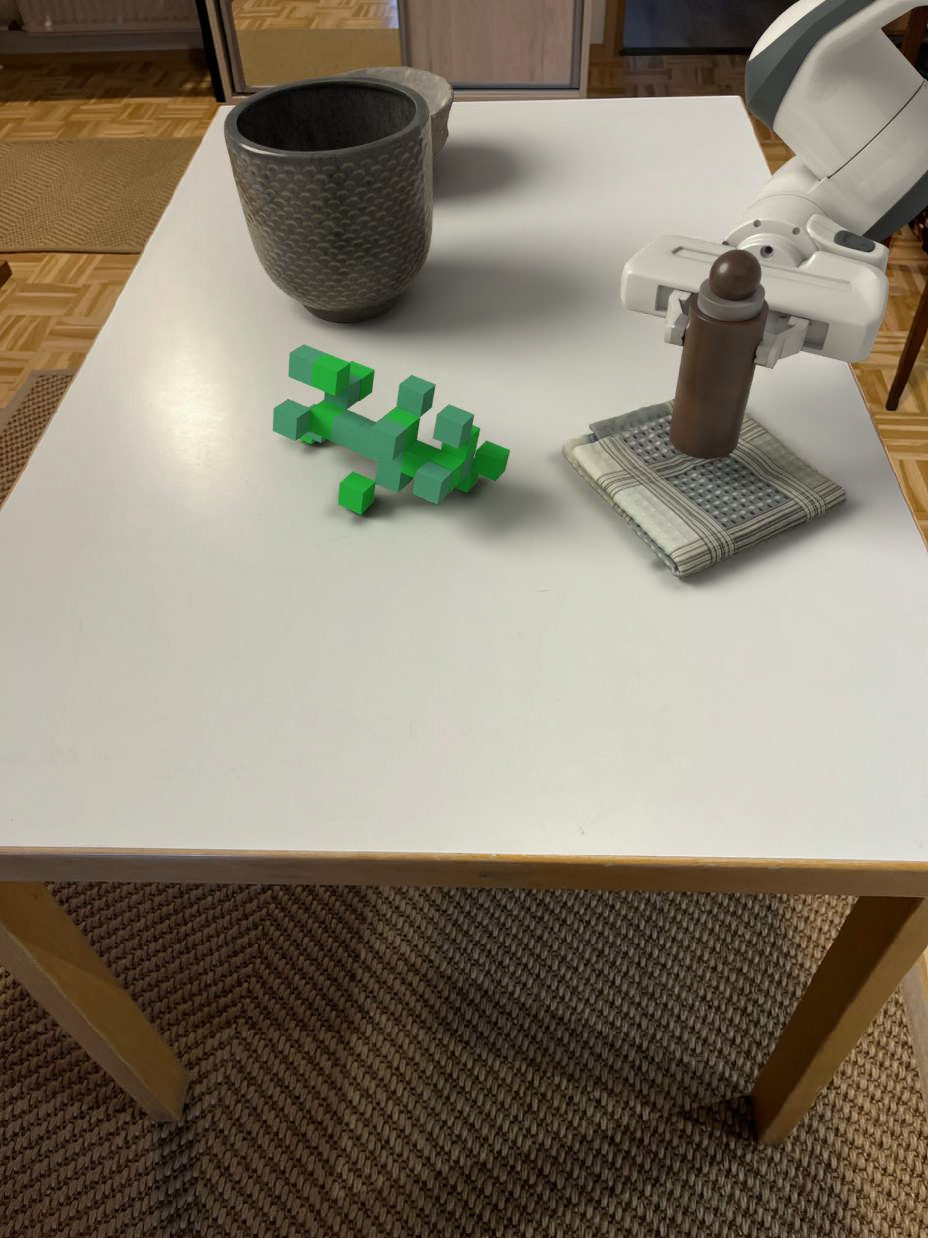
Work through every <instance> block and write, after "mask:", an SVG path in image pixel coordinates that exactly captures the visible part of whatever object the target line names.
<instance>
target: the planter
mask: <svg viewBox="0 0 928 1238" xmlns="http://www.w3.org/2000/svg"><path fill="white" fill-rule="evenodd" d="M331 76H332V75H331ZM223 136H224V142H225V146H226V150H227V154H228V158H229V161H230V162H229V163H230V166H231V167H230V168H231V171H232V176H233V180H234V183H235V187H236V190H237V194H238V199H239V202H240V205H241V208H242V209H241V210H242V213H243V217H244V220H245V223H246V227H247V230H248V234H249V237H250V239H251V240H250V241H251V242H252V243H251V244H252V246H253V248H254V249H253V250H254V251H255V254H256V256H257V259H258V261H259V263H260V265H261V267H262V268H263V270H264V271H265V274H266V275H267V276H268V278H269V279H270V280H271V282H272V283H273V284H274V285H275V286H276V287H277V288H278V289H279V290H280V291H282V293H284V294H285V295H286V296H288V297H289V298H291V299H292V300H294V301H296V302H298V303H300V304H302V306H303V307H304V309H306V311H308V312H309V313H310V314H312V315H313V316H316V317H317V318H319V319H322V320H324V321H329V322H334V323H356V322H362V321H367V320H371V319H374V318H377V317H379V316H382V315H383V314H385V313H387V312H389V311H390V310H391V309H392V308H393V307H394V306H395V305H396V304H397V302H399V300H400V298H401V296H402V294H403V292H404V291H405V290H407V288H409V287H410V286H411V285H412V283H414V281H415V280H416V278H417V277H418V276H419V274H420V273H421V271H422V270H423V267H424V265H425V263H426V261H427V257H428V255H429V252H430V248H431V242H432V236H433V223H434V174H433V173H434V172H433V170H434V169H433V165H434V164H433V160H434V159H433V158H432V140H431V117H430V111H429V107H428V104H427V102H426V100H425V99H424V98H423V97H422V96H421V95H420V94H419V93H417V92H416V91H415V90H413V89H411V88H409V87H407V86H405V85H402V84H399V83H397V82H393V81H389V80H384V79H378V78H372V77H360V76H332V77H329V76H321V77H311V78H305V79H298V80H295V81H290V82H285V83H282V84H278V85H274V86H271V87H269V88H266V89H265V88H264V89H263V90H259V91H258V92H256V93H254V94H252V95H249V96H247V97H246V98H244V99H243V100H241V101H239V102H238V103H237V104H236V105H235V106H233V107H232V109H230V111H229V112H228V113H227V115H226V117H225V120H224V122H223Z"/></svg>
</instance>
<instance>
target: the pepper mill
mask: <svg viewBox="0 0 928 1238" xmlns="http://www.w3.org/2000/svg"><path fill="white" fill-rule="evenodd" d="M761 277H762V271H761V266H760V263H759V261H758V260H757V258H756V257H755V256H754V255H753V254H752V253H750V252H748V251H745V250H741V249H734V250H730V251H727V252H725V253H723V254H722V255H720V256H719V257H718V258H717V259H716V260H715V262H714V263H713V265H712V267H711V269H710V273H709V278H707V279H706V280H704V281H703V282H702V284H701V285H700V289H699V292H697V293H696V294H695V295H694V296H693V297H692V299H691V301H690V306H689V313H688V319H687V325H686V331H685V337H684V344H683V346H682V350H681V355H680V364H679V369H678V376H677V382H676V387H675V394H674V399H675V400H674V406H673V412H672V418H671V424H670V431H669V439H670V442H671V443H672V445H673V446H674V447H675V448H676V449H677V450H678V451H680V452H681V453H683V454H685V455H687V456H690V457H694V458H699V459H716V458H721V457H724V456H726V455H728V454H730V453H731V452H733V451H734V450H735V448H736V447H737V445H738V441H739V437H740V432H741V428H742V424H743V419H744V415H745V413H746V410H747V406H748V401H749V397H750V394H751V388H752V385H753V380H754V376H755V372H756V368H757V365H756V364H753V363H754V359H755V357H756V350H757V347H758V344H759V343H760V341H762V338H763V334H764V329H765V325H766V321H767V316H768V312H769V306H768V303H767V301H766V300H765V299H764V297H765V289H764V287H763V286H762V285H761V284H760V282H761Z"/></svg>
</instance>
